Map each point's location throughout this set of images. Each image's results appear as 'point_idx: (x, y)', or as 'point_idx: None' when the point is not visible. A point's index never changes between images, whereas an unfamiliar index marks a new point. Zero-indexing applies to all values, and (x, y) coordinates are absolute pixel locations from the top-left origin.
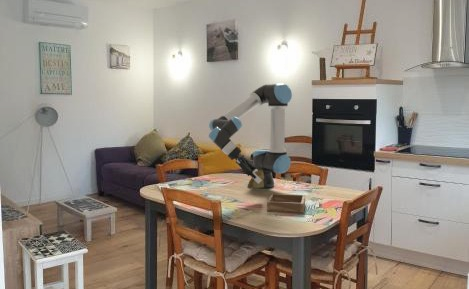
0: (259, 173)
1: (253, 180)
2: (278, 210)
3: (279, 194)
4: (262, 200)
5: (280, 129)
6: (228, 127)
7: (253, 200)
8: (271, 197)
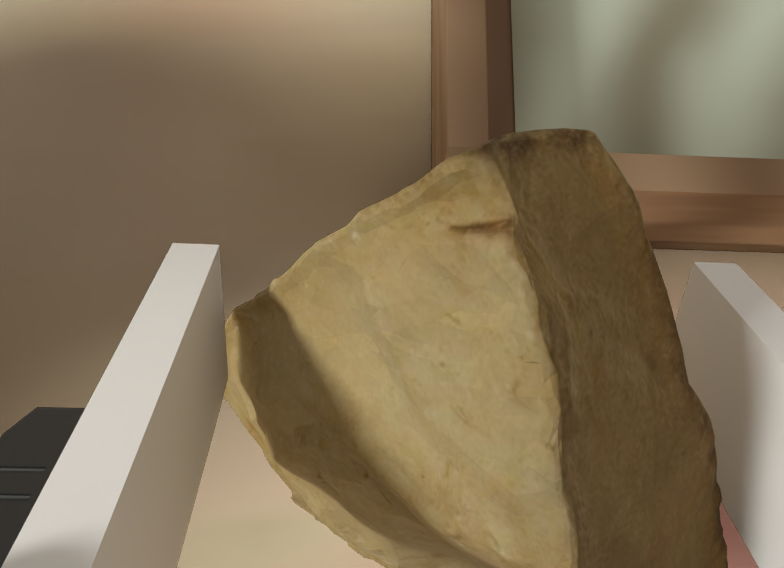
0: (639, 308)
1: (726, 547)
2: None
3: (485, 55)
4: None
5: None
6: None
7: (346, 548)
8: (735, 162)
